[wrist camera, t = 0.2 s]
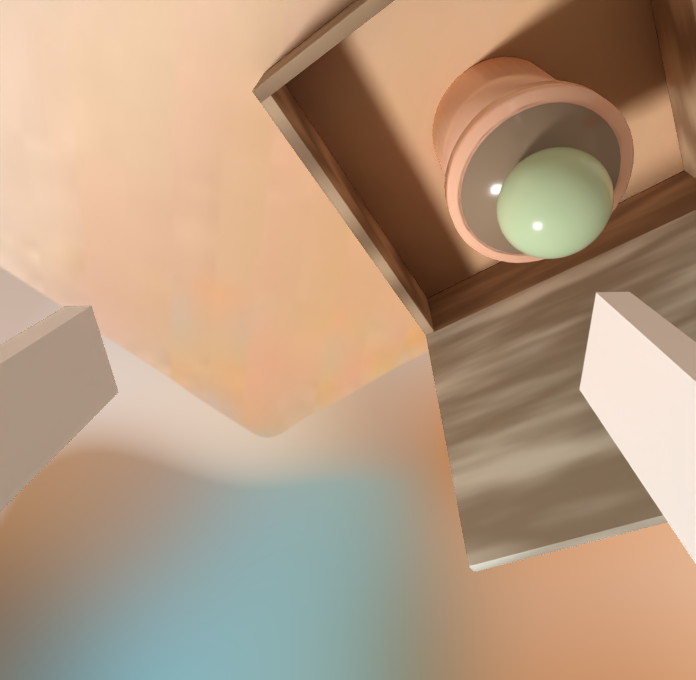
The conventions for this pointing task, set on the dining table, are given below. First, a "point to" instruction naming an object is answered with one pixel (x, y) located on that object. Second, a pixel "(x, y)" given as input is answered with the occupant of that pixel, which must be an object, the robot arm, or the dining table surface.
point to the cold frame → (530, 329)
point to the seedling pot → (529, 160)
